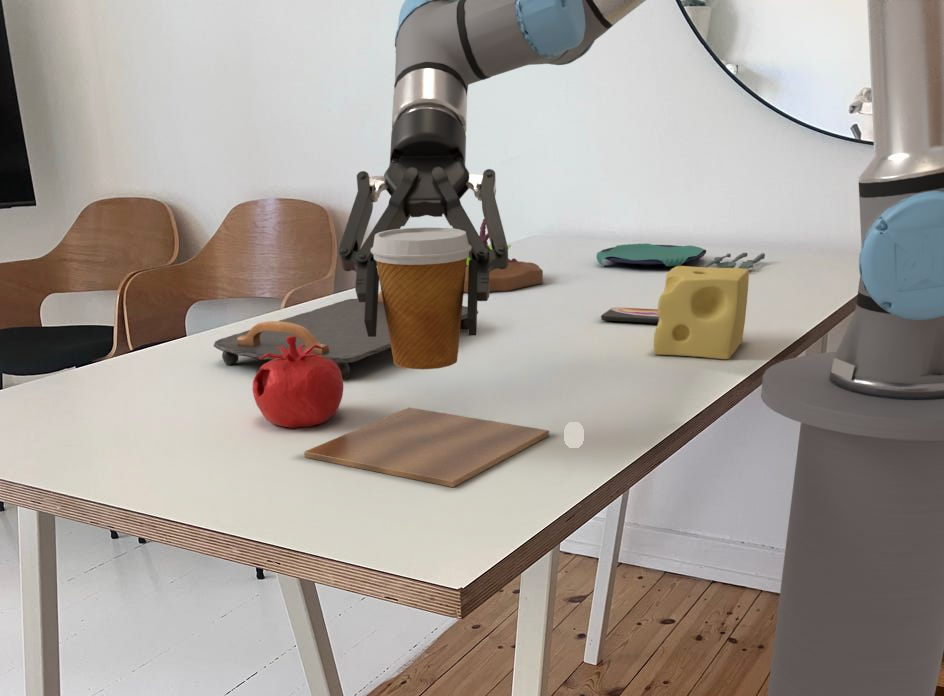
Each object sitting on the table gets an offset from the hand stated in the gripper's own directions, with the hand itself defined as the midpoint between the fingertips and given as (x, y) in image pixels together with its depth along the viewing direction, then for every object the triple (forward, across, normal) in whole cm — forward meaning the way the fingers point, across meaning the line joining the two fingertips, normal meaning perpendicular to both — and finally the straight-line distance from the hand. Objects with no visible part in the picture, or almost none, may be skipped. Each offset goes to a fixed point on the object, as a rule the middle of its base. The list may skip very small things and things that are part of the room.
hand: (420, 328), depth 104 cm
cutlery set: (-70, -38, -88) cm, 119 cm away
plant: (-59, -2, -78) cm, 98 cm away
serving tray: (-25, +14, -43) cm, 52 cm away
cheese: (-22, -33, -40) cm, 57 cm away
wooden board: (+7, 0, -11) cm, 13 cm away
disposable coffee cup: (+1, 0, -5) cm, 5 cm away
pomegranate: (0, +15, -18) cm, 24 cm away
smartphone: (-35, -29, -53) cm, 70 cm away
